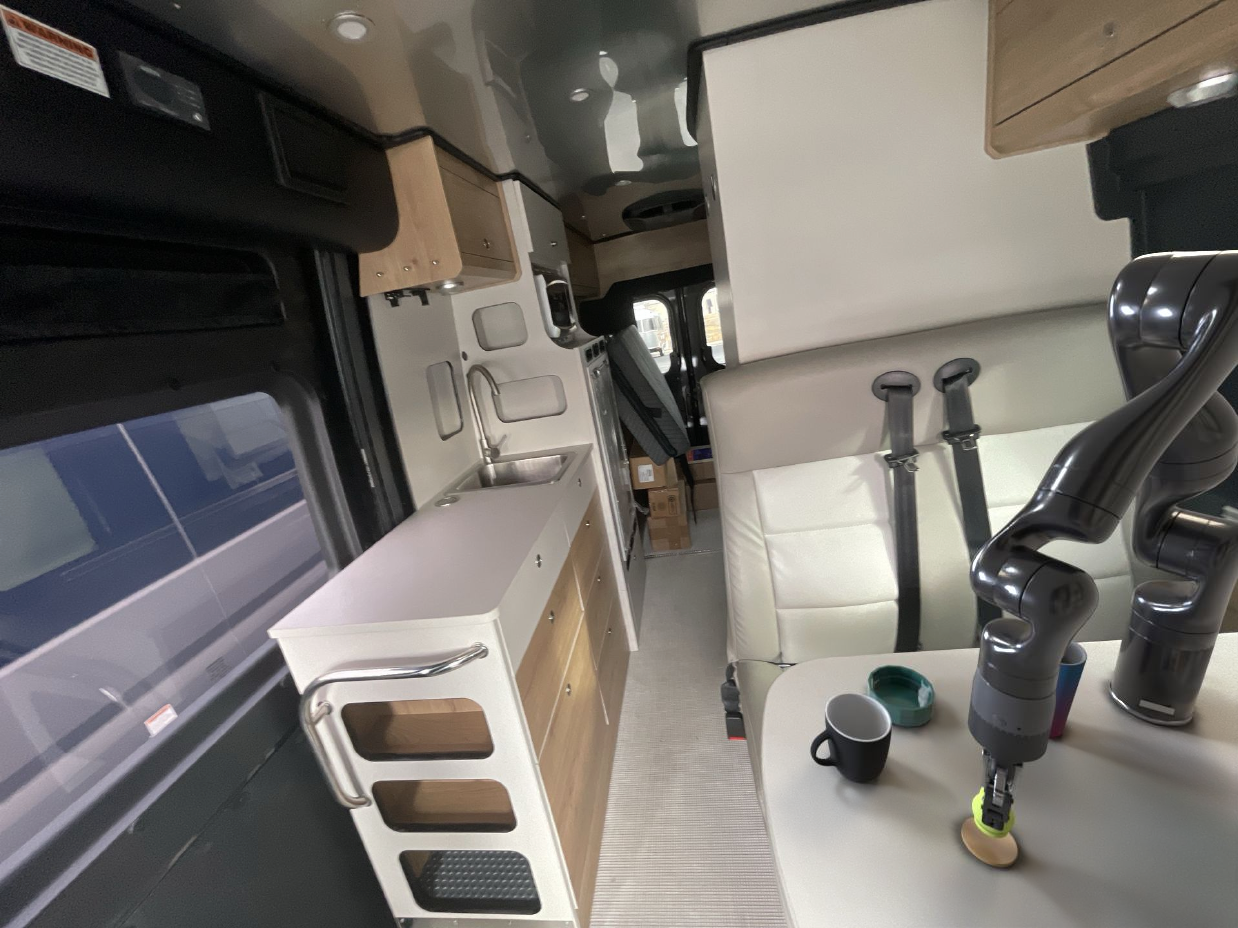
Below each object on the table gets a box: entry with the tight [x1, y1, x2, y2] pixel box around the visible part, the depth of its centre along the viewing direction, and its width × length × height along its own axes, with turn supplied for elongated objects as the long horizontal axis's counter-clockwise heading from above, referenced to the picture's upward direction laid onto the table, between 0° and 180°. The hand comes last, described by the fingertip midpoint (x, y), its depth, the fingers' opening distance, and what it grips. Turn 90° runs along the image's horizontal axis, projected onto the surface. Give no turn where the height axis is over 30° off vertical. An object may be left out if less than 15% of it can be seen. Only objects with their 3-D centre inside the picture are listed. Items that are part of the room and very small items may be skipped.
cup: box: [1049, 639, 1088, 739], centre depth 80 cm, size 7×7×15 cm
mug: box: [809, 692, 893, 784], centre depth 79 cm, size 12×9×10 cm
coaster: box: [960, 816, 1019, 868], centre depth 69 cm, size 6×6×1 cm
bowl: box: [866, 664, 936, 728], centre depth 89 cm, size 10×10×4 cm
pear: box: [971, 786, 1016, 838], centre depth 66 cm, size 4×4×8 cm
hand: (993, 808), depth 67 cm, fingers closed on pear, 4 cm apart
